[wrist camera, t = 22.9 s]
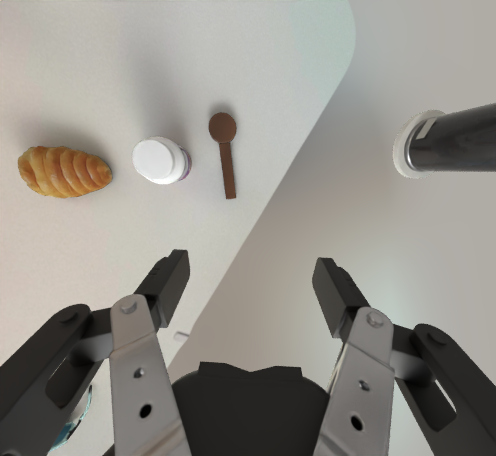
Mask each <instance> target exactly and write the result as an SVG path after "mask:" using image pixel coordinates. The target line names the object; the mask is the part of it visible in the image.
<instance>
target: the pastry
mask: <svg viewBox="0 0 496 456" xmlns="http://www.w3.org/2000/svg"><path fill="white" fill-rule="evenodd" d="M18 168H19V172H20V175H21V178H22V179H23V180H24V181H25V182H26V183H27V185H28V186H29V187H30V188H31V189H32V190H34V191H35V192H37V193H39V194H41V195H45V196H53V197H57V198H68V197H79V196H82V195H84V194H87V193H89V192H93V191H96V190H99V189H101V188H104V187H105V186H106V185H107V184H109V183H110V182H111V180H112V173H111V170H110V168H109V167H108V166H107V164H106V163H105V162H103V161H102V160H101V159H100V158H99V157H98V156H94V155H90V154H87V153H85V152H83V151H79V150H72V149H69V148H67V147H64V146H60V147H43V146H38V147H31V148H29V149H28V150H27V151H26V152H24V153H23V155H22V156H21V157H19V159H18Z"/></svg>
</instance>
